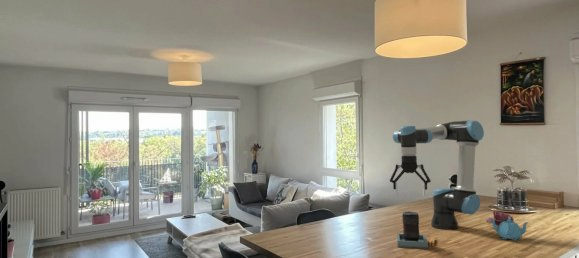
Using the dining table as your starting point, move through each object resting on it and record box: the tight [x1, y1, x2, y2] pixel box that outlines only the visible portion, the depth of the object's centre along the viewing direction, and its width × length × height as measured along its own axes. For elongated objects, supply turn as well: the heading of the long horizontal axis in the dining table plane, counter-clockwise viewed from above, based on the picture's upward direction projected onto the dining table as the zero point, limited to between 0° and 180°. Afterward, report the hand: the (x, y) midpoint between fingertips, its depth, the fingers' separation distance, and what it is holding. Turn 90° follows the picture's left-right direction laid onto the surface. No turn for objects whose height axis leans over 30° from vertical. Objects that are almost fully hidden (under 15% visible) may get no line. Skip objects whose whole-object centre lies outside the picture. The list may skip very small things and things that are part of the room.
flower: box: [485, 210, 515, 227], centre depth 209 cm, size 15×15×10 cm
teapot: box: [490, 217, 530, 242], centre depth 187 cm, size 13×13×10 cm
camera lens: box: [401, 211, 420, 241], centre depth 183 cm, size 8×8×15 cm
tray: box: [396, 233, 429, 250], centre depth 183 cm, size 14×14×3 cm
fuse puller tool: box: [429, 236, 436, 246], centre depth 184 cm, size 10×2×2 cm, turn 154°
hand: (410, 195), depth 184 cm, fingers open, 13 cm apart
